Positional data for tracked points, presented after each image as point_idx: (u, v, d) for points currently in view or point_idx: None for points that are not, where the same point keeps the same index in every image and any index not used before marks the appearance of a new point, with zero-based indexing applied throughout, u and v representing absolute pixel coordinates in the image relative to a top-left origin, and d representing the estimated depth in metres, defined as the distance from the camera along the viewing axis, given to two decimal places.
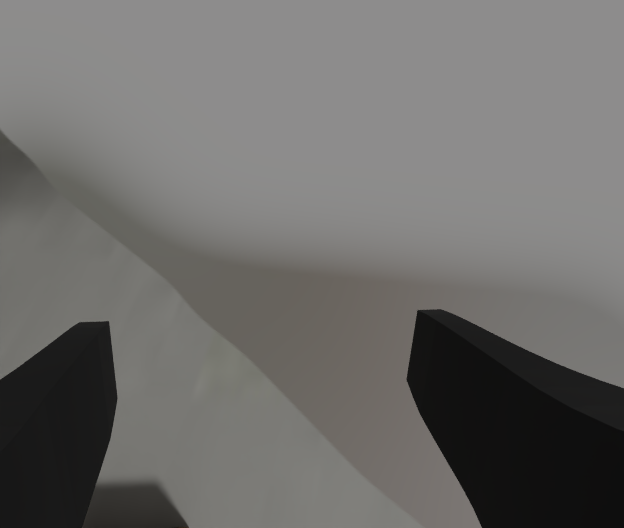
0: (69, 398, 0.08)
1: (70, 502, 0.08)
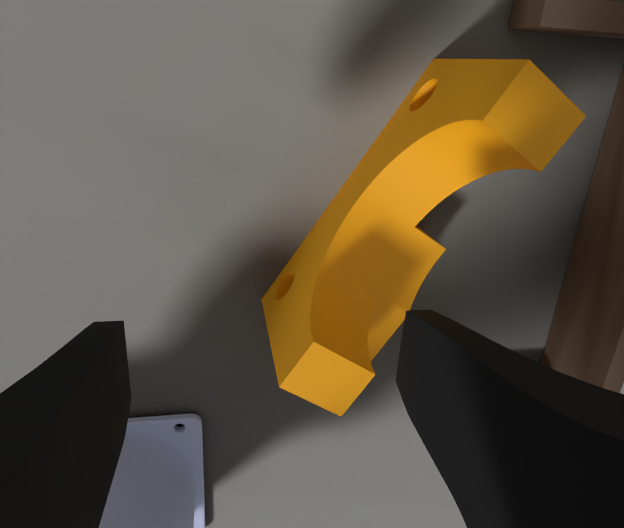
0: (88, 397, 0.08)
1: (89, 500, 0.08)
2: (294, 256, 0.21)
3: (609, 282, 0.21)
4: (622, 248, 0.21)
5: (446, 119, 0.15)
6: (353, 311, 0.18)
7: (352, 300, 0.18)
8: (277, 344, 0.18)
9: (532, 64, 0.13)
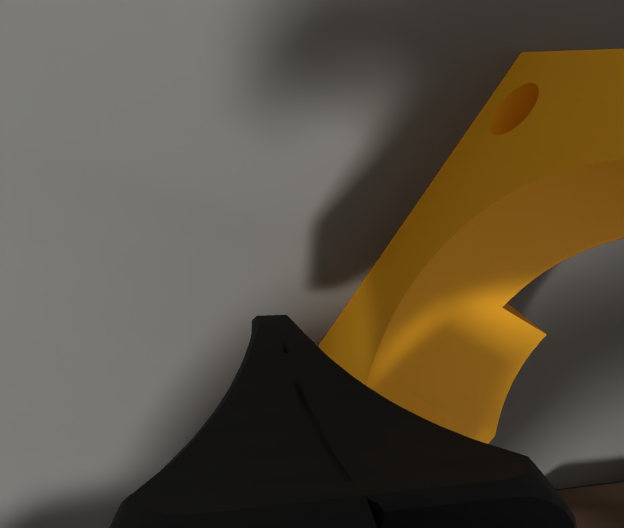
0: None
1: None
2: (319, 347, 0.14)
3: None
4: None
5: (580, 155, 0.09)
6: None
7: None
8: None
9: None
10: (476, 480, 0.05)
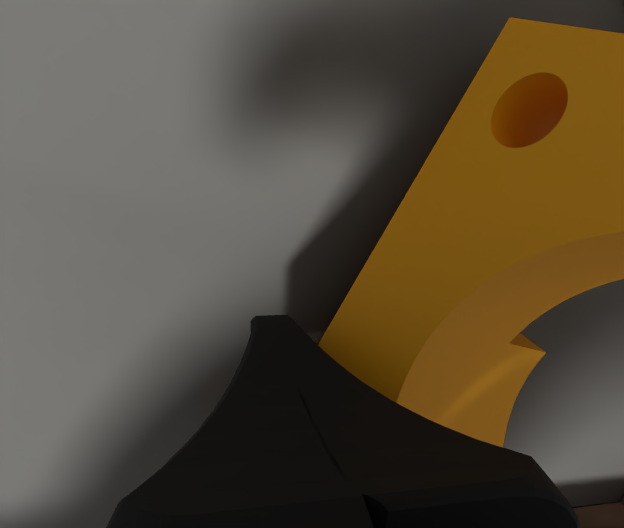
0: None
1: None
2: None
3: None
4: None
5: None
6: None
7: None
8: None
9: None
10: (481, 480, 0.05)
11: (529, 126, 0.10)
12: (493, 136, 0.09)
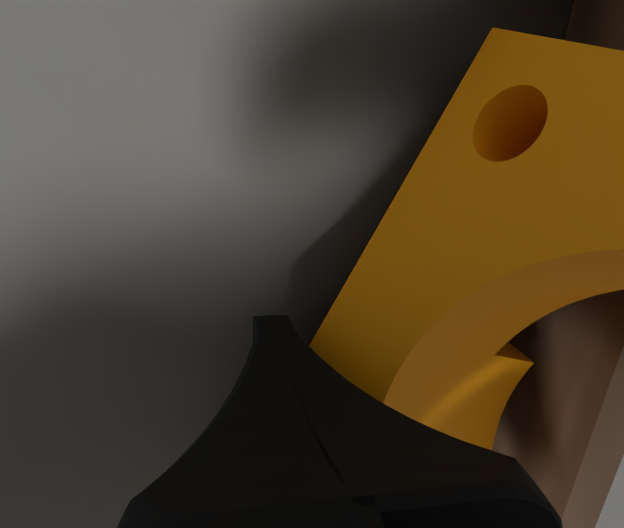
0: None
1: None
2: None
3: (541, 428, 0.12)
4: (561, 374, 0.11)
5: None
6: None
7: None
8: None
9: None
10: (462, 482, 0.05)
11: (513, 137, 0.10)
12: (474, 149, 0.09)
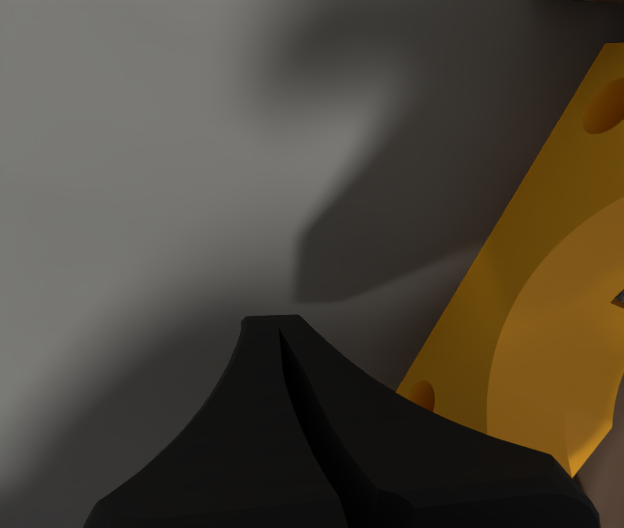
0: None
1: None
2: (422, 356, 0.15)
3: None
4: None
5: None
6: (545, 451, 0.12)
7: (539, 432, 0.12)
8: None
9: None
10: (503, 478, 0.05)
11: None
12: (583, 128, 0.12)
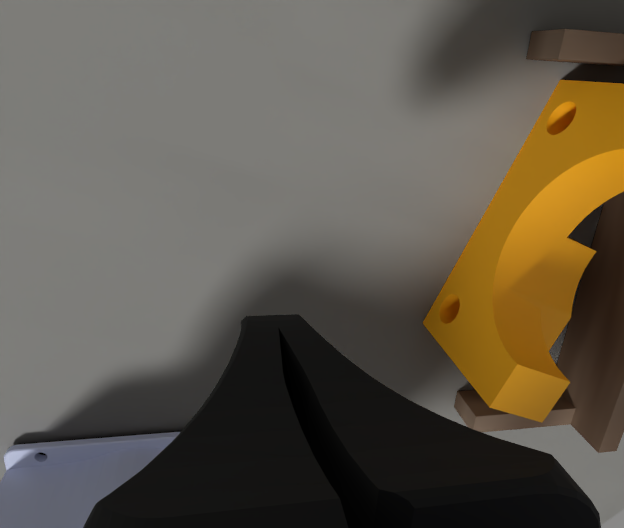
0: None
1: None
2: (449, 280, 0.23)
3: (622, 302, 0.22)
4: None
5: (605, 146, 0.17)
6: (528, 325, 0.20)
7: (525, 315, 0.20)
8: (467, 366, 0.20)
9: None
10: (504, 477, 0.05)
11: None
12: (547, 131, 0.20)
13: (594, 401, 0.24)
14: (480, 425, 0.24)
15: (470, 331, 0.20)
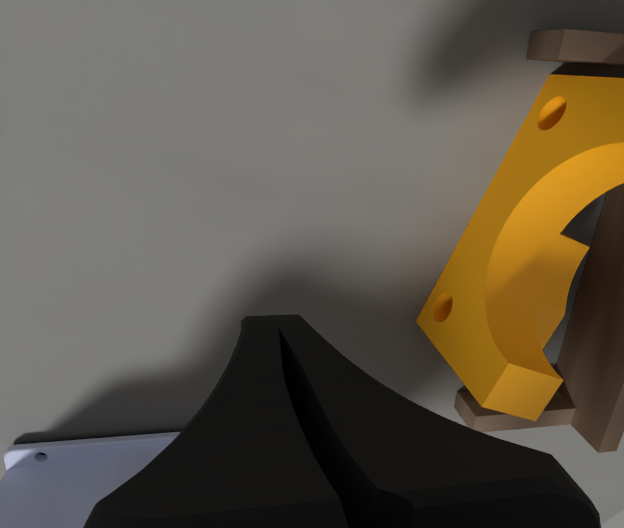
0: None
1: None
2: (442, 278, 0.22)
3: (622, 302, 0.22)
4: None
5: (595, 141, 0.17)
6: (521, 323, 0.20)
7: (517, 313, 0.20)
8: (460, 365, 0.19)
9: None
10: (504, 477, 0.05)
11: None
12: (538, 127, 0.20)
13: (594, 401, 0.24)
14: (480, 425, 0.24)
15: (462, 330, 0.20)
